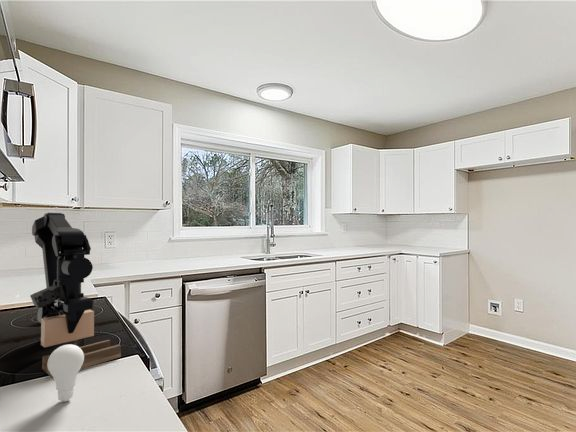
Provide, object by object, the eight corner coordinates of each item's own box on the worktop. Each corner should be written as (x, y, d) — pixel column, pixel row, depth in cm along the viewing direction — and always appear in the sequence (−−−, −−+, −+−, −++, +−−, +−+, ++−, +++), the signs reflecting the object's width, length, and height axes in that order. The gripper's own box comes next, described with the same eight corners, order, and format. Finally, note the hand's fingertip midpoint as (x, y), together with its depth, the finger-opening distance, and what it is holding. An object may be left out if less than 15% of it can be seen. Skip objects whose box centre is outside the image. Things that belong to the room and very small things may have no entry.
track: (41, 368, 82) (42, 356, 82) (108, 350, 94) (108, 339, 94) (52, 377, 77) (52, 364, 77) (120, 356, 89) (121, 345, 89)
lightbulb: (89, 393, 70) (90, 339, 70) (71, 409, 64) (72, 350, 64) (59, 393, 70) (60, 340, 70) (39, 409, 64) (39, 351, 64)
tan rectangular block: (40, 344, 90) (41, 318, 90) (89, 333, 99) (90, 309, 99) (44, 347, 88) (44, 320, 88) (93, 335, 97) (94, 311, 97)
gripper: (24, 276, 93) (23, 332, 93) (45, 283, 82) (44, 347, 81) (69, 271, 102) (69, 323, 102) (94, 277, 90) (94, 335, 90)
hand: (68, 331), depth 93 cm, fingers closed on tan rectangular block, 3 cm apart
